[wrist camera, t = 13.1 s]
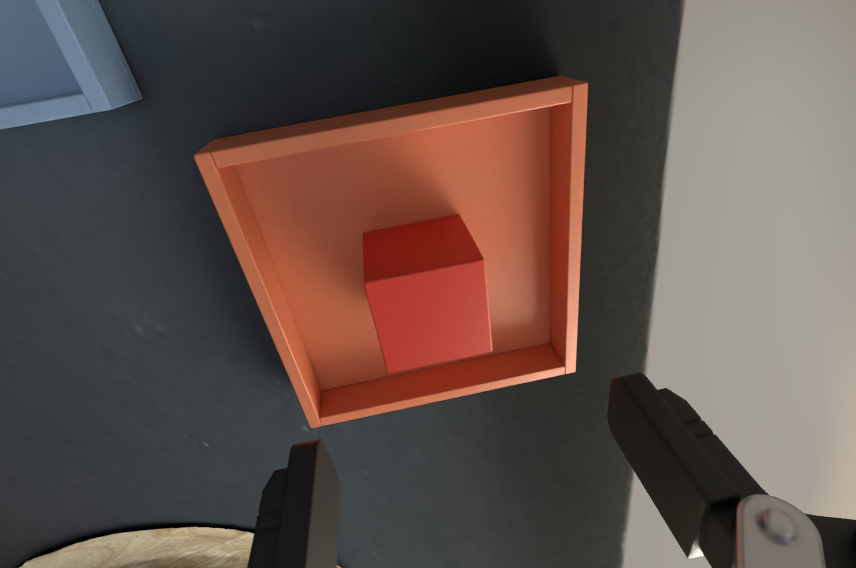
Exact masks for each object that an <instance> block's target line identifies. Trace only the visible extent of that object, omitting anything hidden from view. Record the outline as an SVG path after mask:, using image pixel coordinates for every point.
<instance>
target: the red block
mask: <svg viewBox="0 0 856 568" xmlns="http://www.w3.org/2000/svg"><path fill="white" fill-rule="evenodd" d="M362 242H363V284H364V287H365V291H366V295H367V299H368V302H369V306H370V310H371V314H372V317H373V321H374V325H375V329H376V332H377V336H378V340H379V344H380V347H381V351H382V355H383V359H384V362H385V366H386V370H387V372H388V373H393V372H397V371H402V370H407V369H412V368H417V367H421V366H426V365H431V364H436V363H440V362H445V361H450V360H455V359H460V358H464V357H469V356H474V355H479V354H483V353H488V352H492V350H493V349H492V337H491V326H490V315H489V304H488V293H487V281H486V270H485V259H484V258H483V256H482V254H481V252H480V250H479V248H478V247H477V245H476V243H475V241H474V239H473V238H472V236H471V234H470V232H469V230H468V228H467V227H466V225H465V223H464V221H463V219H462V217H461V216H460V214H457V215H452V216H447V217H442V218H437V219H432V220H427V221H422V222H416V223H411V224H406V225H401V226H396V227H391V228H386V229H380V230H375V231H370V232H365V233H363V234H362Z"/></svg>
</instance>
